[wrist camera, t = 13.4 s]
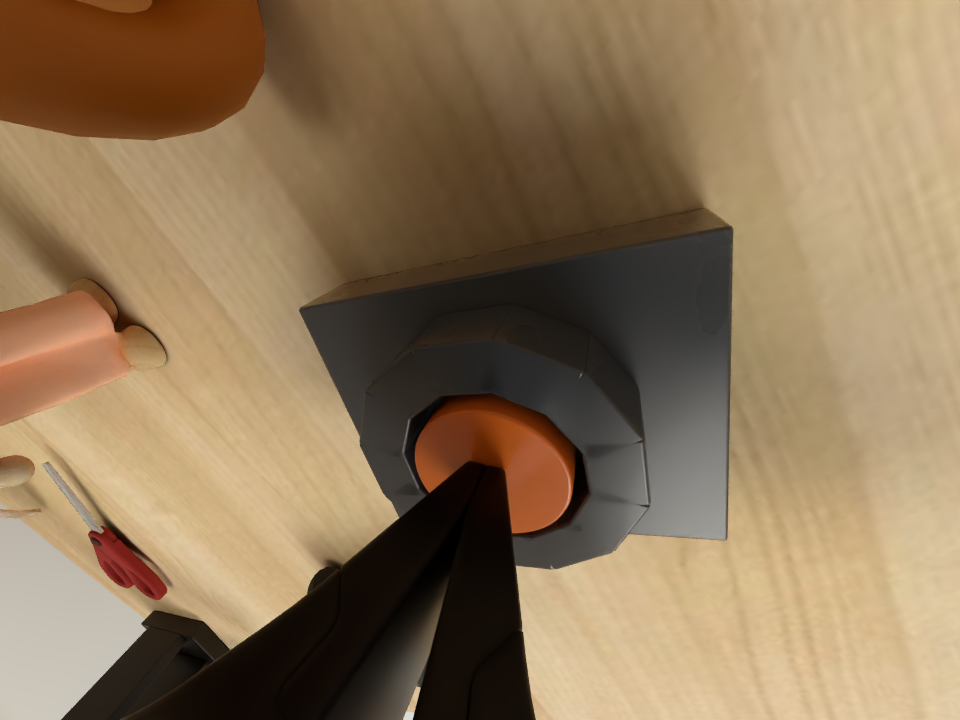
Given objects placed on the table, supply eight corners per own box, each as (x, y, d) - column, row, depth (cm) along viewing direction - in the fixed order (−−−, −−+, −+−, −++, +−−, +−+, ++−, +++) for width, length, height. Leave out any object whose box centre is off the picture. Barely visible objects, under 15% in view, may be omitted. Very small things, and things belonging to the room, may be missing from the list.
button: (462, 478, 11) (440, 529, 10) (423, 373, 10) (391, 415, 8) (588, 482, 10) (584, 540, 9) (565, 361, 9) (556, 406, 7)
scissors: (124, 574, 32) (111, 585, 31) (26, 449, 25) (6, 459, 25) (174, 592, 31) (162, 605, 30) (84, 466, 24) (65, 477, 23)
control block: (424, 474, 15) (372, 566, 12) (344, 283, 12) (242, 338, 9) (710, 479, 12) (748, 614, 8) (707, 206, 8) (771, 250, 5)
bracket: (200, 618, 33) (25, 823, 23) (236, 657, 35) (92, 857, 26) (150, 606, 35) (-27, 786, 26) (187, 643, 38) (39, 820, 28)
